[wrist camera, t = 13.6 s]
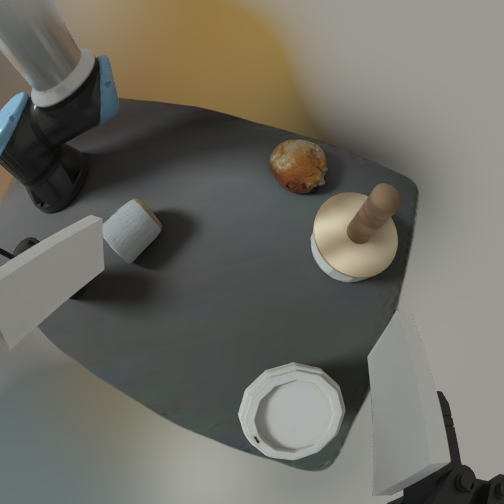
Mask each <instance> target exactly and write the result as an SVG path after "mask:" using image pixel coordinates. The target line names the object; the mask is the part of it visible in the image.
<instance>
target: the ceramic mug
mask: <svg viewBox="0 0 504 504" xmlns="http://www.w3.org/2000/svg"><path fill="white" fill-rule="evenodd" d="M161 230H162V225H161V223H160V221H159V220H158V219H157V217H156V216H155V215H154V214H153V212H152V211H151V210H150V209H149V208H148V207H147V206H146V205H145V204H144V203H143V202H142V201H141V200H140V199H137V198H135V199H132V200H131V201H129V202H127V203H126V204H125V205H124V206H122V207H121V208H119V209H118V210H117V211H115V212H114V213H113V215H112V216H111V217H110V218H109V219H108V220H107V221H106V222H105V223H104V224H103V225H102V233H103V238H104V239H105V240H106V241H107V242H108V244H109V245H110V246H111V247H112V248H113V250H114V251H115V252H117V253H118V255H119V256H120V257H121V258H122V259H123V260H125V261H126V262H127V263H128V264H131V263H132V262H133V261H134V260H135V259H136V258H137V257H138V256H139V255H140V254H141V253H142V252H143V251H144V249H145V248H146V247H147V246H148V245H149V244H150V243H151V242H152V241H153V240H154V239H155V238H156V237H157V236H158V234H159V233H160V232H161Z"/></svg>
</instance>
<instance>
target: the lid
mask: <svg viewBox="0 0 504 504" xmlns="http://www.w3.org/2000/svg"><path fill="white" fill-rule="evenodd" d="M400 206H401V197H400V195H399V193H398V191H397V190H396V189H395V188H394V187H392V186H391V185H389V184H385V183H381V184H378V185H376V186H375V188H374V189H373V191H372V192H371V193H370V195H369V196H366V195H363V194H359V193H353V192H347V193H341V194H337V195H335V196H333V197H331V198H329V199H328V200H327V201H326V202H324V204H323V205H322V206H321V207H320V209H319V211H318V213H317V215H316V218H315V221H314V227H313V234H314V240H315V243H316V246H317V249H318V251H319V253H320V254H321V256H322V258H323V259H324V260H325V261H326V262H327V264H328V265H329V266H331V267H332V268H333V269H334V270H336V271H337V272H339V273H341V274H343V275H345V276H348V277H352V278H369V277H373V276H375V275H377V274H379V273H380V272H382V271H384V270H385V269H386V268H387V267H388V266H389V265H390V264H391V262H392V261H393V259H394V257H395V255H396V251H397V246H398V236H397V231H396V227H395V224H394V222H393V220H392V218H391V216H392V215H393V214H394V213H395V212H396V211H397V210H398V209H399V208H400Z"/></svg>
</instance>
